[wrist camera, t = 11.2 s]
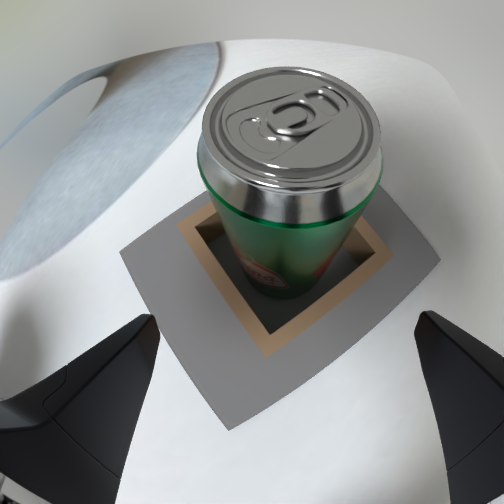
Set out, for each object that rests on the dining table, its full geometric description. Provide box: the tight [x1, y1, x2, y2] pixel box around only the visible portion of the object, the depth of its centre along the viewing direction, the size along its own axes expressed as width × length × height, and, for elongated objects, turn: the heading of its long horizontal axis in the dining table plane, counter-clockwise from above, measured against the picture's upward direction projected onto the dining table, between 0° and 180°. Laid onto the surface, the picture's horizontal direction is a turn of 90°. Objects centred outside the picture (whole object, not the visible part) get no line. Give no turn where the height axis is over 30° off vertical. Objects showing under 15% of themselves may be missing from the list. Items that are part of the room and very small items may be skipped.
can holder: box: [119, 185, 441, 431], centre depth 16 cm, size 18×14×3 cm
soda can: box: [197, 67, 383, 299], centre depth 12 cm, size 5×5×12 cm
